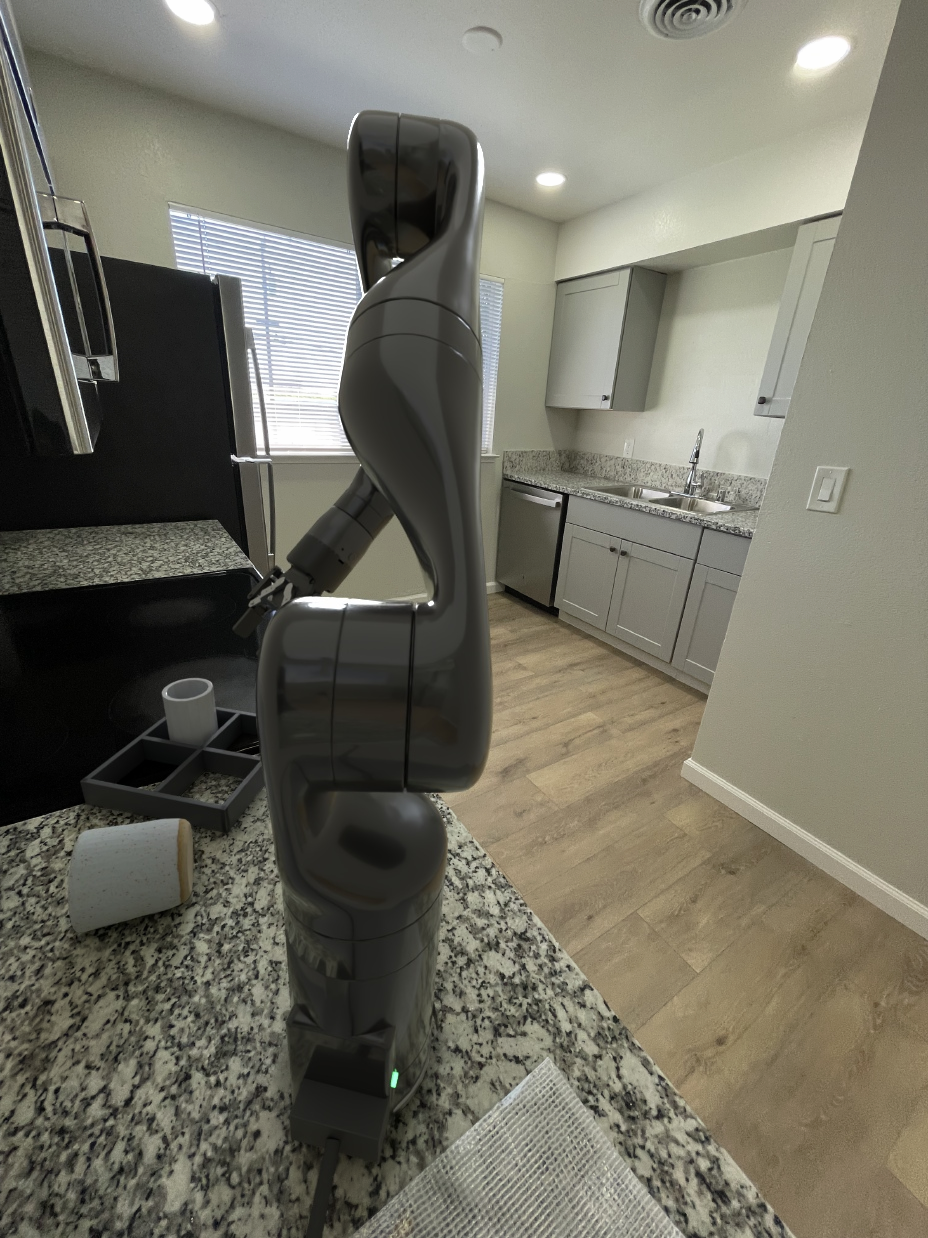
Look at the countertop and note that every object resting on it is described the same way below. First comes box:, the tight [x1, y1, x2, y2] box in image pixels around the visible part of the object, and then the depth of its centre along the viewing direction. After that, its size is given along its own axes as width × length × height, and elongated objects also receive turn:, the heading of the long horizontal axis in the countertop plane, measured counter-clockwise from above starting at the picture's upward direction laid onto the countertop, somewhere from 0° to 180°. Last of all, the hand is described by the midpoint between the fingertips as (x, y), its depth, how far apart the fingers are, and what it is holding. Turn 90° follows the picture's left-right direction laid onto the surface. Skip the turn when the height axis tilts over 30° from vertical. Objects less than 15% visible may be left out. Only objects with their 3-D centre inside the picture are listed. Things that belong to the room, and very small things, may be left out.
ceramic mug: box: [67, 819, 194, 934], centre depth 44 cm, size 11×8×8 cm
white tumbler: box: [161, 677, 219, 746], centre depth 63 cm, size 5×5×8 cm
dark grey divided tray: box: [79, 706, 265, 833], centre depth 60 cm, size 16×16×3 cm
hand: (249, 647), depth 65 cm, fingers open, 8 cm apart
